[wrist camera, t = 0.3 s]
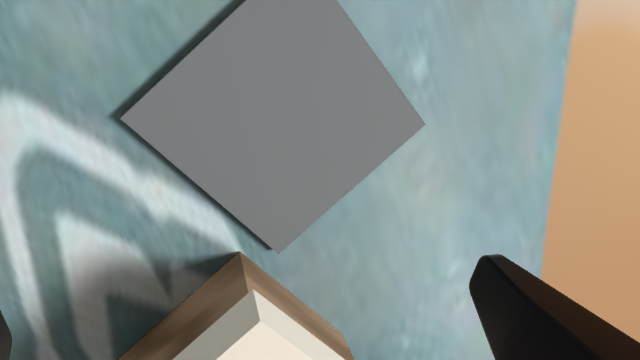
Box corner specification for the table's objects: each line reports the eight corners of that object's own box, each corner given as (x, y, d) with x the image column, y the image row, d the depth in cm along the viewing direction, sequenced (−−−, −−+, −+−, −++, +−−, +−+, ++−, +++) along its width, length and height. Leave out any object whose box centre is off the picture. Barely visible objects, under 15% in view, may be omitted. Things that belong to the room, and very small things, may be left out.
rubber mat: (276, 249, 26) (278, 253, 26) (121, 115, 21) (120, 118, 20) (421, 121, 25) (425, 124, 25) (297, -50, 20) (300, -51, 20)
